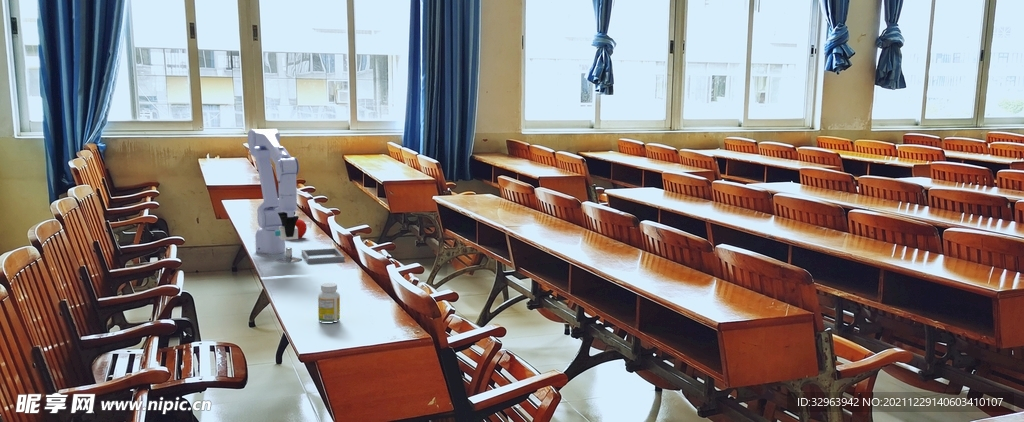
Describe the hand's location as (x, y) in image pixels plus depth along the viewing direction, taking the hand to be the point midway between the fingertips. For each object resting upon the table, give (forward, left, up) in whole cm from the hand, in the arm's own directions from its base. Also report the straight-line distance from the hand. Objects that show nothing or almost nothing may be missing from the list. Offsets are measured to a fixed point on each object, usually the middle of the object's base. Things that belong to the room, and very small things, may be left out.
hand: (288, 235), depth 274 cm
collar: (0, 0, -1) cm, 1 cm away
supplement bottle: (+45, -53, -10) cm, 71 cm away
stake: (0, 0, -9) cm, 9 cm away
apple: (-20, +37, -10) cm, 43 cm away
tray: (+9, +7, -9) cm, 14 cm away
